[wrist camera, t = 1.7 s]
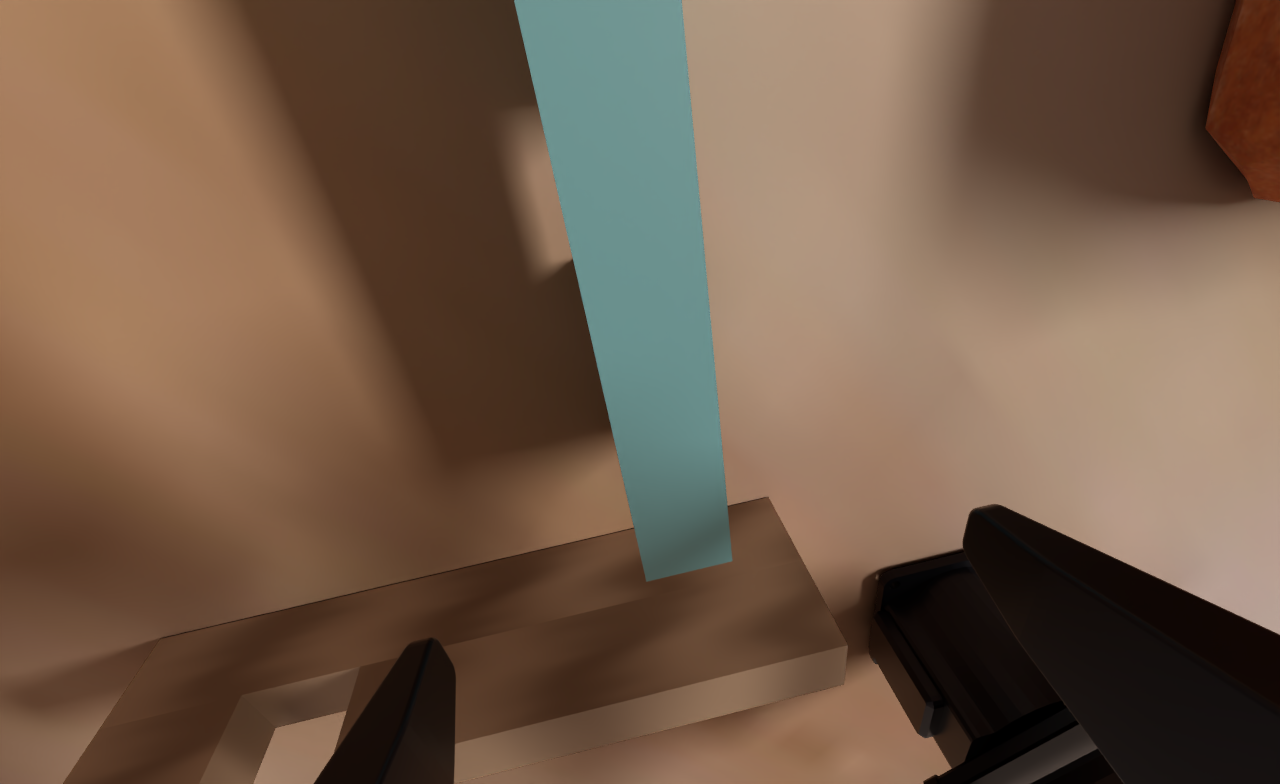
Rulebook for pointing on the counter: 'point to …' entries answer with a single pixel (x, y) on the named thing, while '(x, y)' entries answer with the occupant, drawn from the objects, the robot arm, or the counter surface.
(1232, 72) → the bread
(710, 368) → the crossbar
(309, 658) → the rail
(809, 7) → the counter surface
